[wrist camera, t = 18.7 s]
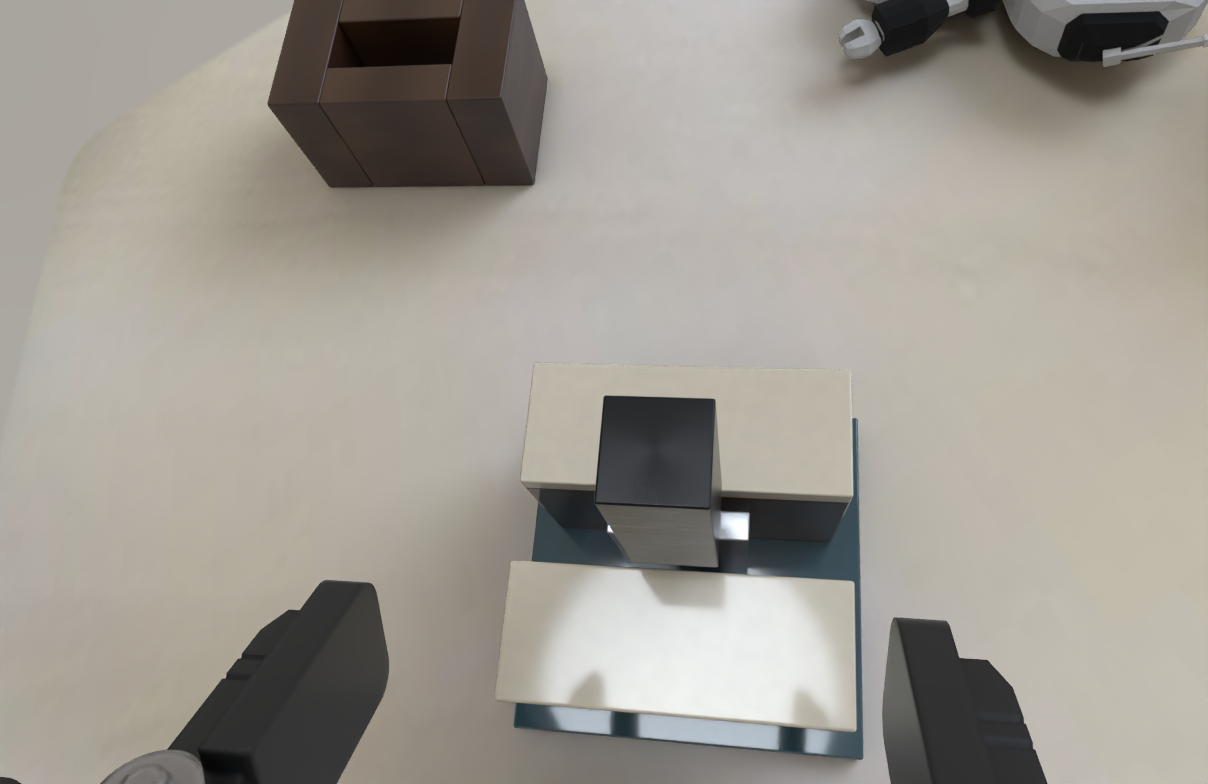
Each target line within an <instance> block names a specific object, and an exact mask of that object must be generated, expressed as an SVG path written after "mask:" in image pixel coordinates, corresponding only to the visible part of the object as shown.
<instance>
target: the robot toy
mask: <svg viewBox="0 0 1208 784" xmlns="http://www.w3.org/2000/svg"><path fill="white" fill-rule="evenodd" d="M865 1H869V2H873V3H877V5H875V6H874V10H873V14H872V20H862V19H855V20H854V21H852V22H850V23H849V24H847V25H846V26H844V27H842V29H841V32H840V34H839V42H840V44H841V46H844V52H845V54H846V56H848V57H850V58H852V59H858V58H865V57H869V56H870V55H871V54H872V53H873V52H874V51H875V50H876V49H877V48H878V47H879V48H880V50H881V52H882V53H883V54H884V55H885V56H889V55H892V54H895V53H897V52H900V51H903V50H905V49H908V48H911V47H914V46H916V45H919V44H922V43H924V42H925V41H926V40H927V39H928V38H929V37H930V36H931V35H932V34H933V33H934V32H935V31H936V30H937V29H938V28H939V26H940V25H941V24H942V23H943V22H944V21H945V19H946V18H947V17H949V16H952V15H955V14H957V13H960V12H963V11H964V12H965V13H966V14H967V15H969V16H970V17H971V18H974V17H977V16H980V15H982V14H985V13H988V12H990V11H993V10H995V8H996V6H997V4H998V2H999V0H865ZM1003 3H1004V5H1005V8H1006V11H1007V13H1008V16H1009V18H1010V21H1011V22H1012V24H1013V26H1014V27H1015V29H1016V30H1017V31H1018V32H1019V33H1020V34H1021V35H1022V36H1023V37H1024V38H1025V39H1026V40H1027V41H1028V42H1029V43H1030V44H1031V45H1032V46H1034V47H1036V48H1038V49H1040V50H1042V51H1044V52H1046V53H1048V54H1050V55H1052V56H1054V57H1062V58H1064V59H1066V60H1069V61H1086V62H1103V67H1106V66H1112V65H1118V64H1121V61H1130V60H1139V59H1142V58H1146V57H1150V56H1153V55H1154V54H1158V53H1164V52H1170V51H1176V50H1181V49H1187V48H1193V47H1199V46H1203V47H1208V34H1205V35H1204V37H1199V38H1193V39H1187V40H1182V39H1183V38H1184V37H1185V36H1186V34H1187V33H1188V32H1189V31H1190V30H1191V29H1192V28H1193V27H1194V26H1195V25H1196V23H1197V21H1198V19H1199V18H1200V16H1201V14H1202V12H1203V10H1204V8H1205V6H1206V4H1207V3H1208V0H1003ZM1181 40H1182V41H1181Z"/></svg>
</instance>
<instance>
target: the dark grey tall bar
mask: <svg viewBox="0 0 1208 784" xmlns="http://www.w3.org/2000/svg"><path fill="white" fill-rule="evenodd" d="M721 496H722V479H721V466H720V453H719V439H718V426H717V413H716V401H715V399H712V398H678V397H645V396H611V395H606V396H604V398H603V408H602V419H601V430H600V441H599V452H598V463H597V474H596V485H595V496H594V503H595V505H596V506H597V508H598V509H599V511H600V513H601V514H602V516H603V517H604V519H605V520H606V522H607V533H608V535H609V536H610V538H611V539H612V541H613V542H614V543H615V545H616V546H617V548H618V549H619V551H620V552H621V554H622V555H623V557H624V558H625V560H626V561H627V562H628V564H629V565H630V567H634V568H650V569H667V570H683V571H699V572H716V573H732V574H747V573H748V551H749V523H750V514H749V513H748V512H728V511H721Z"/></svg>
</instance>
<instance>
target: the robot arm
mask: <svg viewBox="0 0 1208 784" xmlns="http://www.w3.org/2000/svg"><path fill="white" fill-rule="evenodd" d="M388 673H389V658H388V652H387V646H386V641H385V636H384V630H383V625H382V619H381V614H380V609H379V603H378V598H377V593H376V590H375V588H374V586H373V585H372V584H371V583H366V582H350V581H334V580H325V581H323V582H321V583H320V584H319V585H318V586H317V588H316V589H315V590H314V592H313V593H312V594H311V596H310V597H309V599H308V600H307V601H306V603H305V604H304V605H303V607H302V608H301V609H300V610H288V611H286V612H285V613H284V614H282V615H281V616H279V617H278V618H277V619H275V620H274V621H272V622H271V623H270V624H268V625H267V626H265V627H264V628H263V629H261V630H260V631H259V633H258V634H257V635H256V636H255V638H254V639H253V640H252V642H251V643H250V644H249V645H248V647H247V648H246V649H245V651H244V652H243V653H242V658H241V659H238V660H237V661H236V662H235V663H234V665H233V666H232V667H231V668H230V670H229V671H228V672H227V676H226V679H222V680H221V681H220V683H219V684H218V685H217V686H216V688H215V689H214V690H213V692H212V693H211V694H210V695H209V697H208V698H207V699H206V701H205V702H204V703H203V704H202V706H201V707H200V708H199V709H198V711H197V712H196V713H195V715H194V716H193V717H192V718H191V720H190V721H189V722H188V724H187V725H186V726H185V727H184V729H183V730H182V731H181V733H180V734H179V735H178V736H177V738H176V739H175V740H174V742H173V743H172V744H171V745H170V747H169V748H168V749H167V750H161V751H156V752H152V753H149V754H145V755H142V756H140V757H138V758H135V759H133V760H131V761H129V762H127V763H126V764H124V765H122V766H121V767H119V768H118V769H116V770H115V771H114V772H112V773H111V774H110V775H109V776H107V777H106V778H105V779H104V780H103V781H102V782H101V783H100V784H337V782H338V780H339V778H340V776H341V774H342V773H343V771H344V769H345V767H346V765H347V763H348V761H349V759H350V758H351V756H352V754H353V752H354V750H355V748H356V746H357V744H358V743H359V741H360V739H361V737H362V735H363V733H364V731H365V730H366V728H367V726H368V724H369V722H370V720H371V718H372V716H373V715H374V713H375V711H376V709H377V707H378V705H379V703H380V701H381V699H382V697H383V695H384V692H385V689H386V685H387V680H388ZM882 719H883V736H884V745H885V751H886V757H887V763H888V769H889V775H890V781H891V784H1047V781H1046V778H1045V776H1044V773H1043V770H1042V767H1041V765H1040V762H1039V759H1038V756H1037V753H1036V751H1035V750H1034V749H1033V742H1032V740H1031V737H1030V734H1029V731H1028V729H1027V726H1026V724H1024V718H1023V715H1022V712H1021V709H1020V706H1019V704H1018V701H1017V698H1016V695H1015V693H1014V690H1013V687H1012V686H1011V685H1010V684H1009V683H1008V682H1007V681H1006V680H1005V679H1004V678H1003V677H1002V675H1001V674H1000V673H999V672H998V671H997V670H996V669H995V668H994V667H993V666H992V665H991V663H990V662H989V661H988V660H979V659H965V658H959V656H958V652H957V649H956V646H955V642H954V639H953V636H952V632H951V629H950V626H949V624H948V622H947V621H941V620H926V619H910V618H893V620H892V623H891V629H890V638H889V647H888V656H887V666H886V675H885V684H884V693H883V709H882ZM0 784H21V783H19V782H18V781H17V780H14V779H11V778H6V777H0Z"/></svg>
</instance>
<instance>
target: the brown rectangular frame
mask: <svg viewBox="0 0 1208 784" xmlns="http://www.w3.org/2000/svg"><path fill="white" fill-rule="evenodd" d="M547 79H548V78H547V75H546V72H545V68H544V65H543V61H542V58H541V55H540V51H539V48H538V45H537V41H536V38H535V35H534V31H533V28H532V24H531V21H530V18H529V14H528V11H527V8H526V4H525V1H524V0H294V4H293V8H292V11H291V15H290V19H289V23H288V27H287V31H286V34H285V38H284V42H283V46H282V50H281V54H280V57H279V61H278V65H277V69H276V73H275V77H274V80H273V84H272V88H271V92H270V96H269V100H268V106H269V108H270V109H271V110H272V112H273V113H274V114H275V116H276V117H277V118H278V120H279V121H280V122H281V124H282V125H283V126H284V128H285V129H286V130H287V131H288V133H289V134H290V135H291V137H292V138H293V139H294V141H295V142H296V143H297V145H298V146H299V147H300V149H301V150H302V151H303V153H304V154H305V155H306V156H307V158H308V159H309V160H310V162H311V163H312V164H313V166H314V167H315V168H316V170H317V171H318V172H319V174H320V175H321V176H322V178H323V179H324V180H325V181H326V183H327V184H328V185H329V186H330V187H356V186H374V185H375V186H460V185H485V184H486V185H531V184H534V180H535V172H536V164H537V156H538V149H539V141H540V133H541V126H542V118H543V110H544V102H545V95H546V87H547Z"/></svg>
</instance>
